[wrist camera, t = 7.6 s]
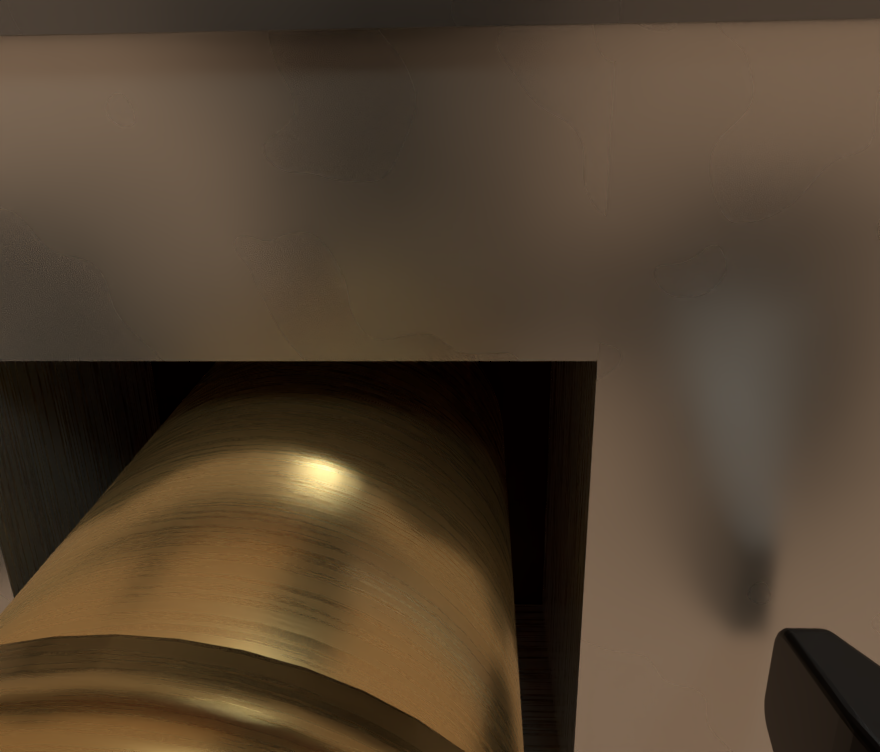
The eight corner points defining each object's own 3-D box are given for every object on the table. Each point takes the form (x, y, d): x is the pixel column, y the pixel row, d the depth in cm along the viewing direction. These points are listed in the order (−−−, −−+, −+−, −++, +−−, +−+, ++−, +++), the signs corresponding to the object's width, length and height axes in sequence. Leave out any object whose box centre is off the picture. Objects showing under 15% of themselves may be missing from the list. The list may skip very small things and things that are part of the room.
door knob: (529, 272, 11) (642, 778, 3) (521, 586, 12) (582, 1368, 5) (157, 273, 11) (-533, 748, 3) (204, 582, 13) (-179, 1320, 5)
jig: (1031, -33, 9) (1463, -98, 5) (846, 765, 14) (1001, 1063, 10) (-328, -2, 10) (-881, -39, 6) (-76, 744, 14) (-289, 1012, 10)
